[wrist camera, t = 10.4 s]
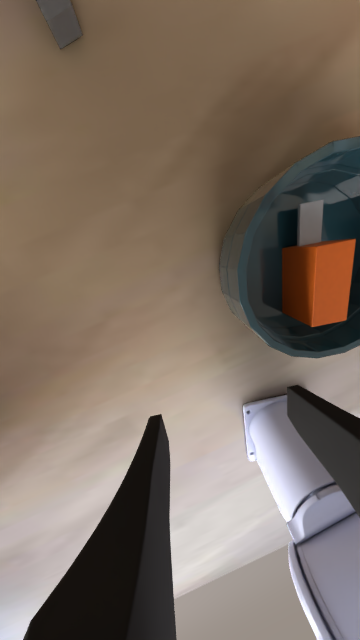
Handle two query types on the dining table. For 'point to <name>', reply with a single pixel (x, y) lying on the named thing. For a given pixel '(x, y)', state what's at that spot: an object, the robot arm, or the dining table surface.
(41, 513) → the dining table surface
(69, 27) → the machine pistol
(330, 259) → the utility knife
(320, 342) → the bowl
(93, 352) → the dining table surface
